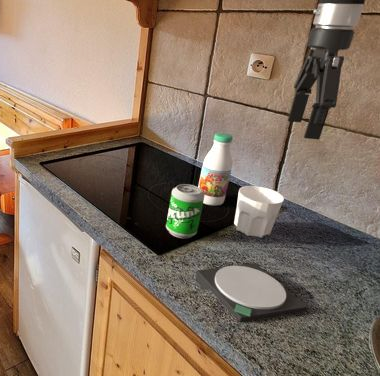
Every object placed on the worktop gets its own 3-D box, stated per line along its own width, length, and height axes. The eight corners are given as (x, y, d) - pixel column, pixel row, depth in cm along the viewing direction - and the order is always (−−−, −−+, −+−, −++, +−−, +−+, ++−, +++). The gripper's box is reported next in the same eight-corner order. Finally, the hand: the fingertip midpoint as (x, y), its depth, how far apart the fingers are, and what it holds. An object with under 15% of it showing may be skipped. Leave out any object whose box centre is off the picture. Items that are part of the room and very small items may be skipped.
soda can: (171, 221, 107) (178, 180, 101) (200, 230, 103) (209, 188, 98) (160, 233, 101) (168, 190, 96) (191, 243, 97) (200, 199, 92)
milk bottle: (191, 194, 122) (204, 130, 113) (215, 194, 123) (229, 130, 114) (203, 206, 115) (217, 139, 106) (228, 205, 116) (245, 139, 107)
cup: (246, 216, 110) (255, 183, 106) (281, 233, 102) (292, 198, 98) (222, 225, 106) (230, 190, 101) (257, 243, 98) (267, 207, 94)
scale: (304, 317, 75) (309, 304, 74) (237, 328, 72) (241, 315, 71) (253, 271, 87) (256, 260, 86) (194, 279, 84) (196, 267, 83)
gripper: (296, 23, 93) (271, 114, 102) (333, 30, 71) (298, 144, 80) (332, 25, 91) (305, 117, 100) (383, 32, 70) (341, 149, 79)
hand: (302, 129), depth 90 cm, fingers open, 13 cm apart
